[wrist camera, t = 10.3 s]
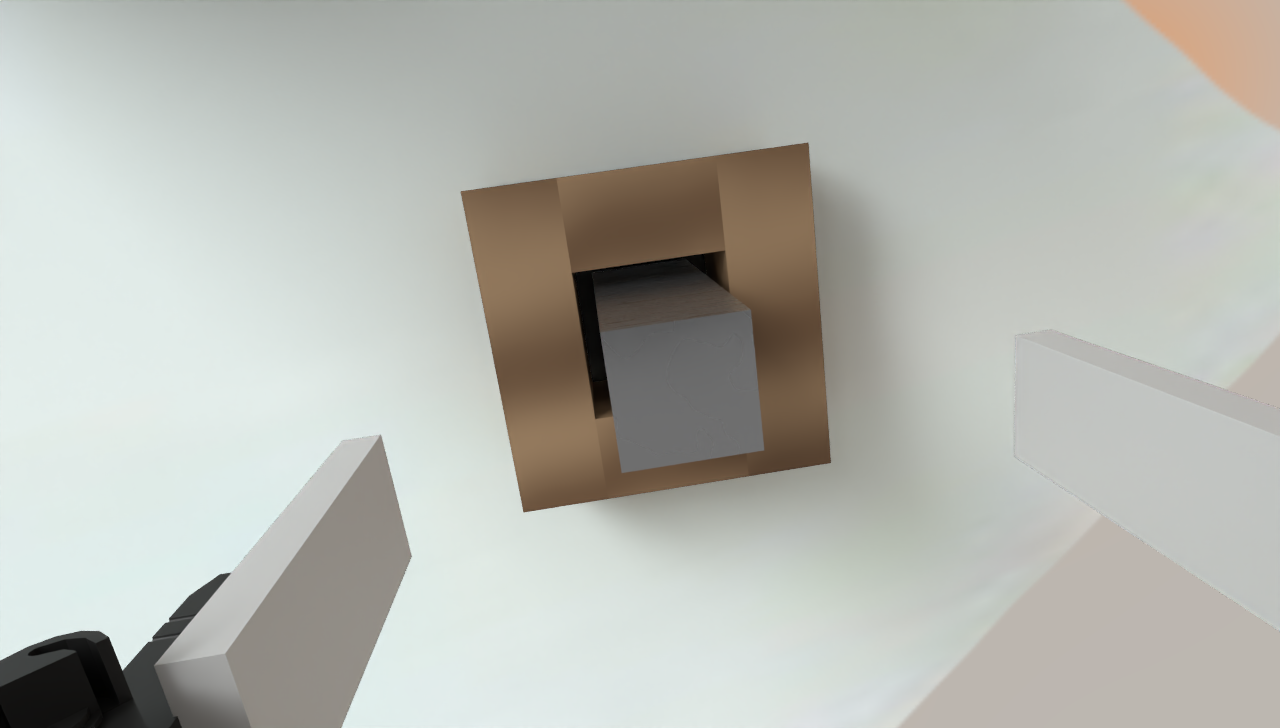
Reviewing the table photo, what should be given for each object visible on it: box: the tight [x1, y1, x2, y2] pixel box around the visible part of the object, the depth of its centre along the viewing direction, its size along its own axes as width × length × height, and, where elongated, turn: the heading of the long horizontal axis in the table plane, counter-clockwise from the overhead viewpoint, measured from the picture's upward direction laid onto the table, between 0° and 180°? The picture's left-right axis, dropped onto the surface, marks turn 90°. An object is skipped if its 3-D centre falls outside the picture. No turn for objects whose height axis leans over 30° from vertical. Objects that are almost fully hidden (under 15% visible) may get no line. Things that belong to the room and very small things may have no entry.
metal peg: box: [592, 259, 764, 473], centre depth 25 cm, size 4×4×12 cm
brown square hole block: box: [461, 143, 831, 512], centre depth 28 cm, size 12×12×5 cm
